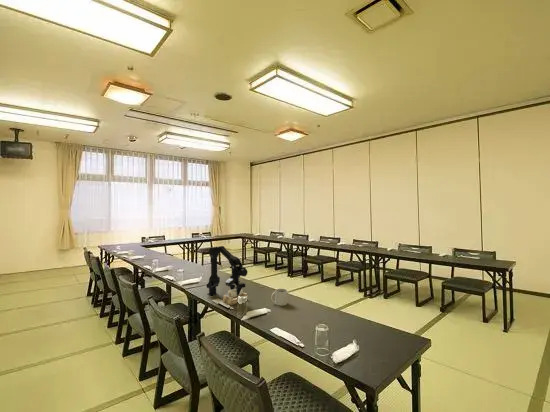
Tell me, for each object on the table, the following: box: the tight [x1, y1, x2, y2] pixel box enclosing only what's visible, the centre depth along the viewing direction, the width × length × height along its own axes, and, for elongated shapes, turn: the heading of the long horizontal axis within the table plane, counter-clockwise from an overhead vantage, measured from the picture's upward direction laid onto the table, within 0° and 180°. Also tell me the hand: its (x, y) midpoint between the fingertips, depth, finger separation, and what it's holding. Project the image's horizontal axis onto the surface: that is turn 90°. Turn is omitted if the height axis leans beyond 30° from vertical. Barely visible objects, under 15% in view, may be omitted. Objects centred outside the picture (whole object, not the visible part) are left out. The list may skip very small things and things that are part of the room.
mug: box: [270, 288, 288, 307], centre depth 207 cm, size 11×10×10 cm
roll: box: [227, 288, 244, 298], centre depth 213 cm, size 10×6×6 cm, turn 135°
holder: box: [222, 292, 248, 306], centre depth 213 cm, size 11×16×5 cm
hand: (235, 294), depth 213 cm, fingers closed on roll, 6 cm apart
